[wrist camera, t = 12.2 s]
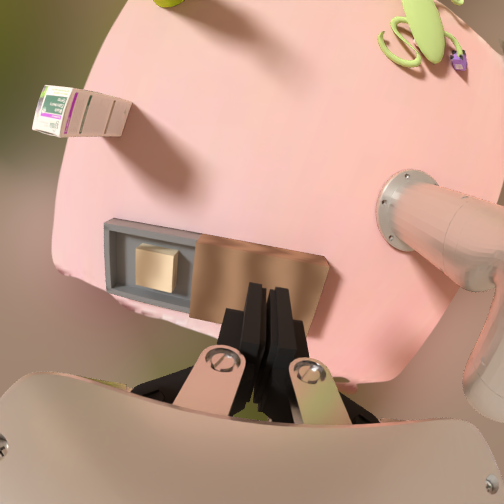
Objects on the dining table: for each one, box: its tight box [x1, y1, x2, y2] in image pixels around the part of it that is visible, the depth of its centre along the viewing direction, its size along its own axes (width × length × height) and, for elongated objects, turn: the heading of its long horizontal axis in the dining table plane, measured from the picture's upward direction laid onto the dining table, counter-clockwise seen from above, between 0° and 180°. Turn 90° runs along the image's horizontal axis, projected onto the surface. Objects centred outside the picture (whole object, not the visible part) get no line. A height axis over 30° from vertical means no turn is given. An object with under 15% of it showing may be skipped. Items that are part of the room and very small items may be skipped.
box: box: [104, 218, 202, 313], centre depth 39 cm, size 15×12×3 cm
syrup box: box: [32, 85, 132, 137], centre depth 26 cm, size 6×6×14 cm
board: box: [189, 234, 330, 337], centre depth 39 cm, size 18×12×4 cm, turn 80°
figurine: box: [378, 0, 467, 71], centre depth 21 cm, size 18×27×6 cm
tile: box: [136, 243, 179, 293], centre depth 39 cm, size 6×6×2 cm
